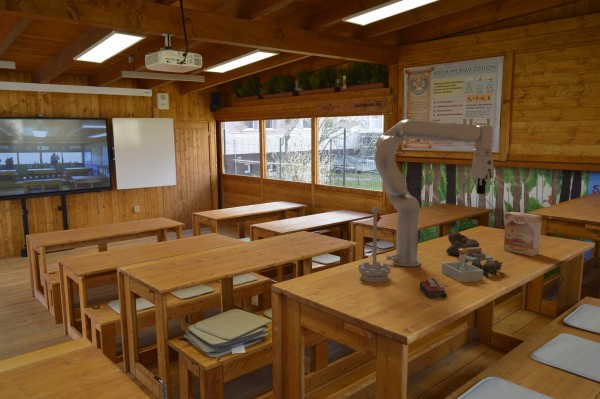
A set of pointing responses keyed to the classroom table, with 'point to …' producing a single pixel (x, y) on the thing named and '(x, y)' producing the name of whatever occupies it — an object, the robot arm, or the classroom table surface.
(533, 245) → the coffeecake box
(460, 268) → the pin
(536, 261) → the classroom table surface
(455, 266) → the tray
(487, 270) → the rhino figurine
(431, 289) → the walkie-talkie
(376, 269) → the flag stand
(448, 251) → the decorative stone
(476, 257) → the trolley
